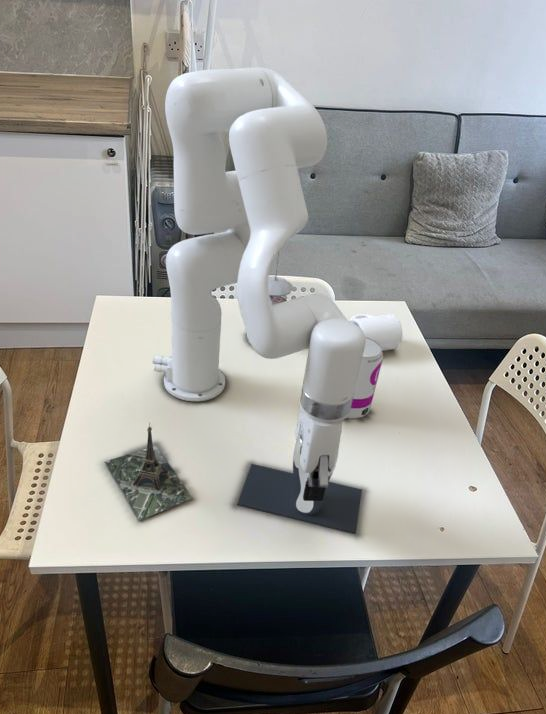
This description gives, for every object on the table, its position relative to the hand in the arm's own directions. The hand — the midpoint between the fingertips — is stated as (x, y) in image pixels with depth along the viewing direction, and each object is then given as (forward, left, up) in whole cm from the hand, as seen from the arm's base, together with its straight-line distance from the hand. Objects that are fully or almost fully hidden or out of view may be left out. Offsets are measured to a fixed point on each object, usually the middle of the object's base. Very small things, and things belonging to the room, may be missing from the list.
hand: (309, 482), depth 105 cm
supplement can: (+4, +29, -5) cm, 29 cm away
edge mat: (-1, +1, -5) cm, 5 cm away
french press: (-18, +48, -5) cm, 51 cm away
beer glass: (0, 0, -5) cm, 5 cm away
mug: (+5, +54, -5) cm, 54 cm away
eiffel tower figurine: (-27, -3, -5) cm, 28 cm away
